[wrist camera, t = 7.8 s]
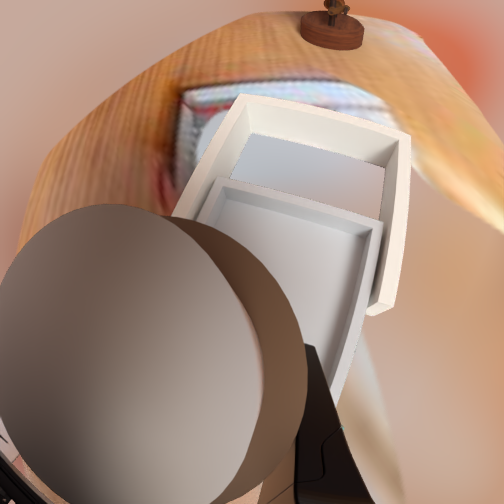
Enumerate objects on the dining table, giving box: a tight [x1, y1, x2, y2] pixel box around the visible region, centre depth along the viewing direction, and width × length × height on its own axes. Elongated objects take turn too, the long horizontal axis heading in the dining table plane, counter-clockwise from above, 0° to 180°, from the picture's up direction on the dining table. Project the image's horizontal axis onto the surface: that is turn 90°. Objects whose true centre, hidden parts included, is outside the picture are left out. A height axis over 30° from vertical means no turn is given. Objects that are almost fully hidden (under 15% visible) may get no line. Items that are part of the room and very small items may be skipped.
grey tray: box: [196, 176, 384, 430], centre depth 20 cm, size 16×15×4 cm
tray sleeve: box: [171, 93, 411, 316], centre depth 23 cm, size 16×17×4 cm
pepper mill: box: [0, 204, 308, 504], centre depth 9 cm, size 5×5×14 cm
